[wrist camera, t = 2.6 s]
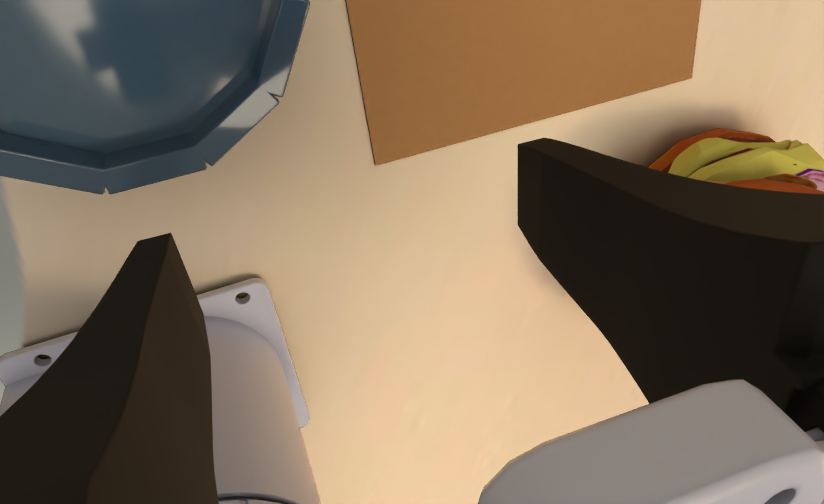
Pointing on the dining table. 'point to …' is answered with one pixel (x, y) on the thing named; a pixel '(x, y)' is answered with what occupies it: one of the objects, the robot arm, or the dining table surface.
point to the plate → (136, 85)
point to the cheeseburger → (746, 162)
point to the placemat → (507, 62)
